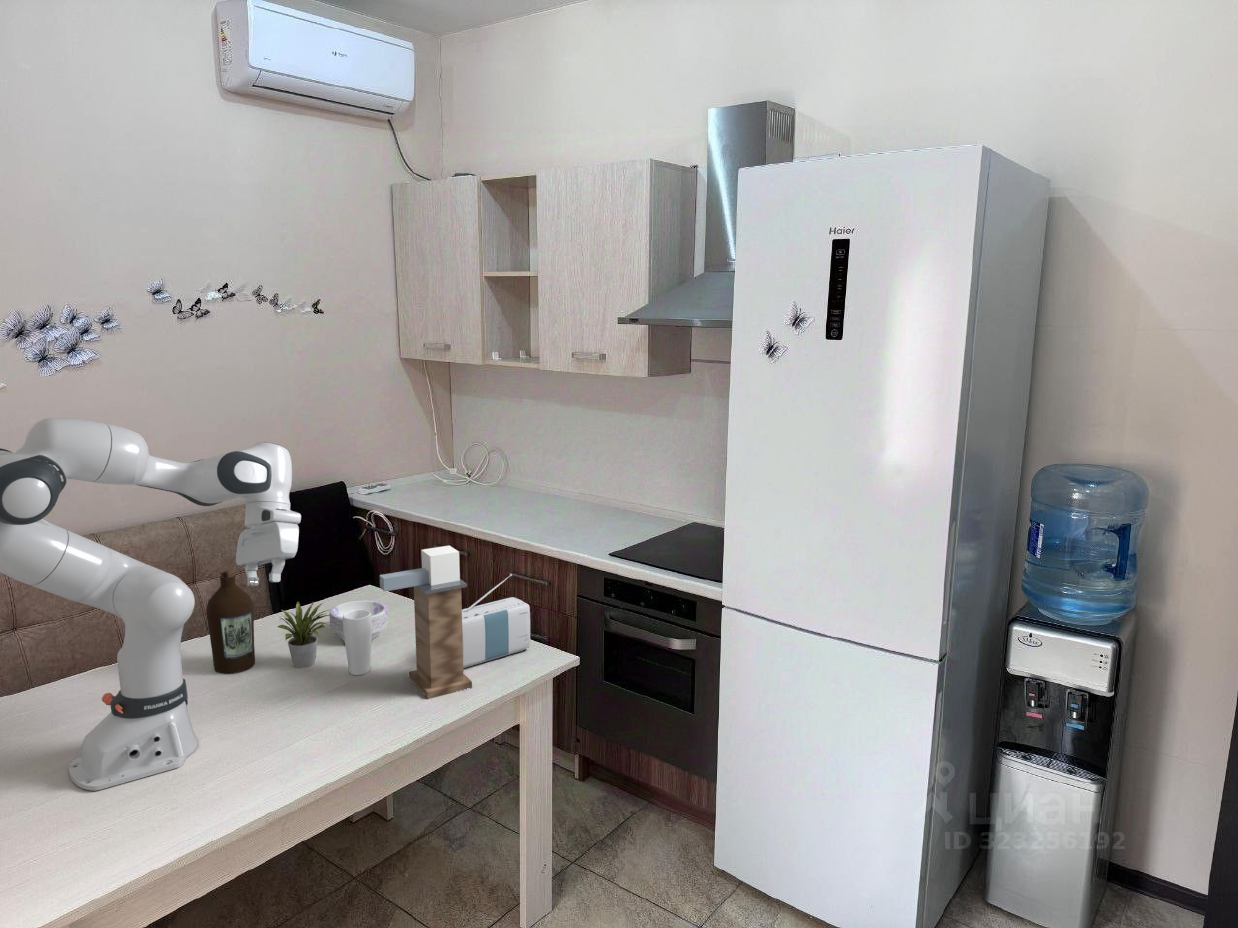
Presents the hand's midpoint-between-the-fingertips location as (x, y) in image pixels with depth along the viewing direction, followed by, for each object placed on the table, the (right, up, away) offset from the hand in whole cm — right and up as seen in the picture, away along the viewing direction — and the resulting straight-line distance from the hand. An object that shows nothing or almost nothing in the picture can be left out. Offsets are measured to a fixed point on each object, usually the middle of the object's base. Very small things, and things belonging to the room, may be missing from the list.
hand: (263, 584), depth 177 cm
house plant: (-5, -26, +35) cm, 44 cm away
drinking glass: (+10, -27, +33) cm, 43 cm away
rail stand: (+31, -28, +27) cm, 50 cm away
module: (+28, -3, +20) cm, 34 cm away
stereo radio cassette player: (+41, -25, +42) cm, 64 cm away
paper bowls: (+3, -22, +55) cm, 59 cm away
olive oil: (-22, -26, +35) cm, 48 cm away
